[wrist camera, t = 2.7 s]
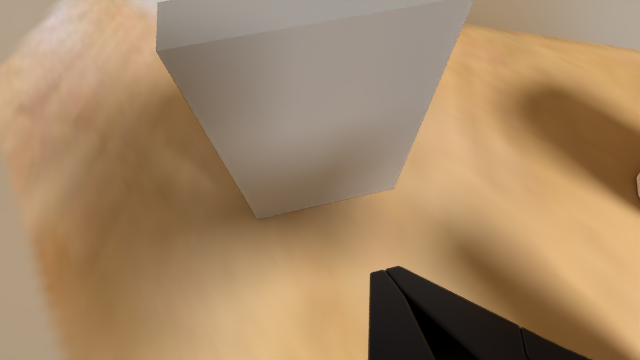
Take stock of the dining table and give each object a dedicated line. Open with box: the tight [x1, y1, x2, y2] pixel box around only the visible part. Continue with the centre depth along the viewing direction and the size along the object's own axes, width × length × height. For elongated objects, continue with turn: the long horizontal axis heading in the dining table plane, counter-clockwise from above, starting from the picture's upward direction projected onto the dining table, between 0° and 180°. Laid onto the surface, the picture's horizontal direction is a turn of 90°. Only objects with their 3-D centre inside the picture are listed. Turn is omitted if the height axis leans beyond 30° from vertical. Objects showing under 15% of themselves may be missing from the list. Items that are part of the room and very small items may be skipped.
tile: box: [156, 0, 474, 219], centre depth 16 cm, size 3×10×14 cm, turn 103°
